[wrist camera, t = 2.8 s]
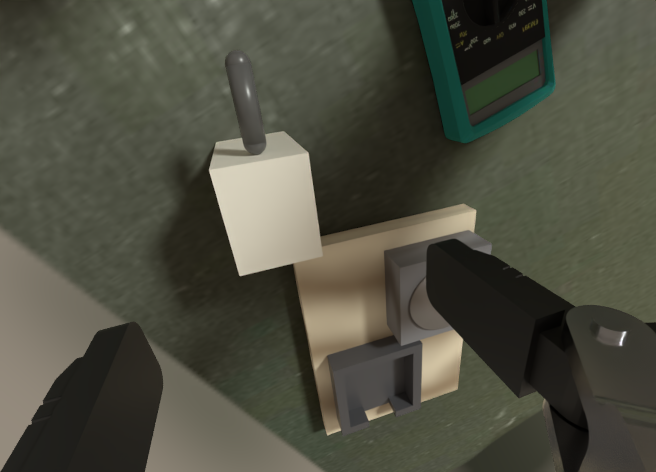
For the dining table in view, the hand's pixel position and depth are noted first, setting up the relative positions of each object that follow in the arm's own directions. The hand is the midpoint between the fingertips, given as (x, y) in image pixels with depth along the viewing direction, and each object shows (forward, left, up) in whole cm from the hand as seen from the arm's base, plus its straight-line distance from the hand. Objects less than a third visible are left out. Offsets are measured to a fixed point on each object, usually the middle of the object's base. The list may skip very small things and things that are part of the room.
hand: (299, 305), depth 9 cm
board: (+15, +8, -13) cm, 21 cm away
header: (+19, +6, -11) cm, 23 cm away
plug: (-2, 0, -13) cm, 13 cm away
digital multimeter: (-8, +14, -14) cm, 21 cm away
